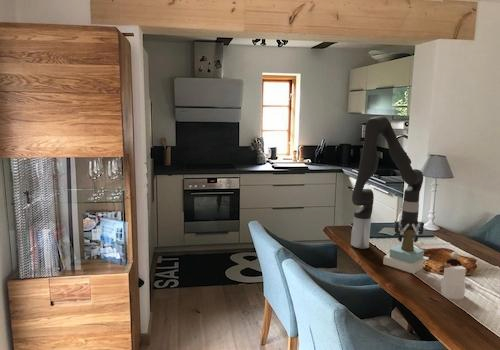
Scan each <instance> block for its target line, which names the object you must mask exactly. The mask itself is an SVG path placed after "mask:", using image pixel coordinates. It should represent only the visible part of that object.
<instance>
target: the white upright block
mask: <svg viewBox="0 0 500 350" xmlns="http://www.w3.org/2000/svg"><path fill="white" fill-rule="evenodd" d="M466 272H467V268H466V267H464V266H463V265H462V266H459V265H458V266H455V267H450V266H448V267H447V266H446V267H444V269H443V276H442V278H441V287H440V294H441V295H442V296H443V297H446V298H447V299H450V298H452V299H451V300H457V299H459V300H463V299H464V298H465V291H466V282H465V279H466Z"/></svg>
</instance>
